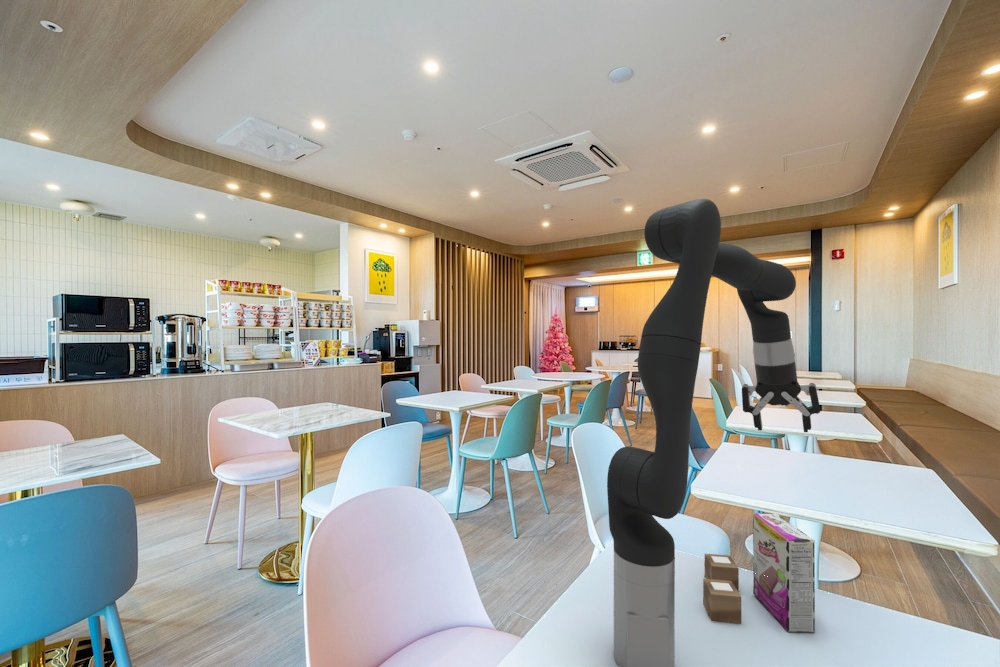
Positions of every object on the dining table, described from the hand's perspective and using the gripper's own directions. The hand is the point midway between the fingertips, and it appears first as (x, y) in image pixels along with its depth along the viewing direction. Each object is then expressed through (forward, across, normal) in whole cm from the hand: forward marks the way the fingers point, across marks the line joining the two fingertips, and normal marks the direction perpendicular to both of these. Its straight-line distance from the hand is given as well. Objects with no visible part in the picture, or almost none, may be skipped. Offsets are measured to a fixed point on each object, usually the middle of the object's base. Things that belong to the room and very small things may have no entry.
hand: (782, 430), depth 97 cm
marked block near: (+23, -11, -32) cm, 41 cm away
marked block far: (+25, -12, -22) cm, 36 cm away
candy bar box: (+26, -2, -25) cm, 36 cm away
